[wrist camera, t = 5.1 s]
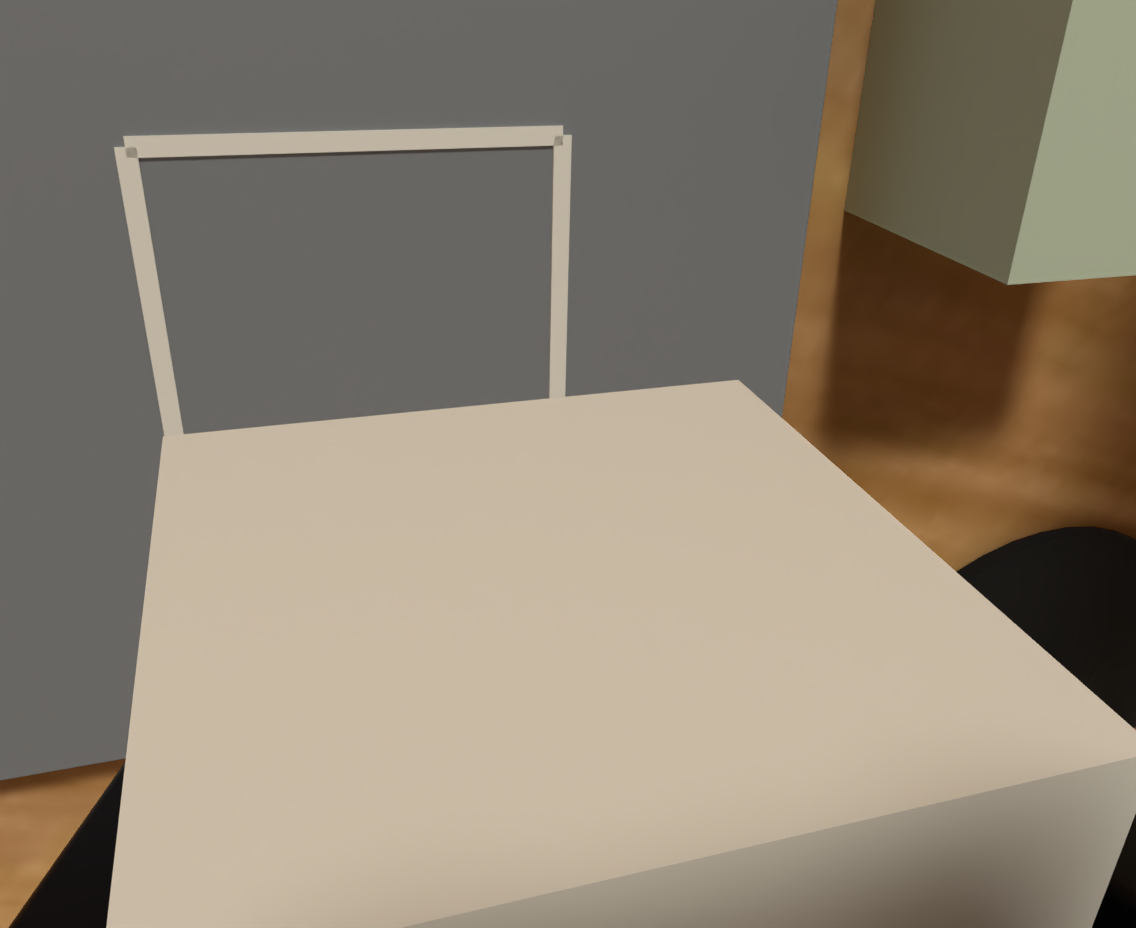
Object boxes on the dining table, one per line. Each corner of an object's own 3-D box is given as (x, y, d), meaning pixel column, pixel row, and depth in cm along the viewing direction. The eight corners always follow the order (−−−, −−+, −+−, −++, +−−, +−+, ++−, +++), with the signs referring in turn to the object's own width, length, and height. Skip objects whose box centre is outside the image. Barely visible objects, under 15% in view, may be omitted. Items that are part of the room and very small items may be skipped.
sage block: (1117, -69, 19) (1371, -68, 15) (1052, 199, 21) (1256, 265, 17) (884, -78, 18) (1090, -78, 14) (842, 209, 20) (1006, 285, 16)
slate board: (823, -184, 17) (866, -192, 16) (728, 618, 24) (753, 652, 23) (-350, -260, 12) (-407, -278, 11) (-28, 743, 20) (-43, 791, 19)
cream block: (738, 379, 9) (1159, 750, 5) (694, 782, 12) (961, 1266, 8) (163, 436, 8) (100, 997, 4) (240, 877, 10) (253, 1532, 6)
